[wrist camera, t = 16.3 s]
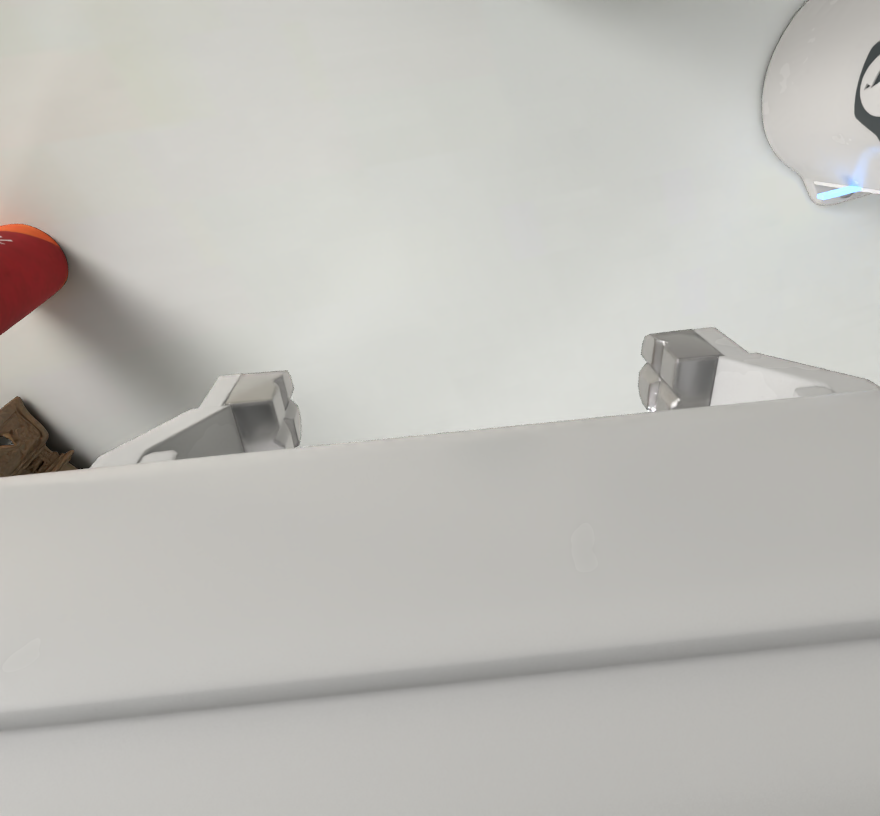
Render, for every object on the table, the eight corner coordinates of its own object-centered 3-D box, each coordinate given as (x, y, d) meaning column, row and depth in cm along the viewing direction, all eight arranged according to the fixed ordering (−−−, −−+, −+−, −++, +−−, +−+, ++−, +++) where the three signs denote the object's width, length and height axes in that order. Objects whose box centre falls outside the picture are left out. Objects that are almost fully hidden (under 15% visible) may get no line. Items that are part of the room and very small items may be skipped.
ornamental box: (281, 584, 70) (268, 721, 54) (174, 659, 72) (131, 813, 56) (28, 385, 54) (-99, 496, 38) (-100, 489, 56) (-271, 636, 40)
